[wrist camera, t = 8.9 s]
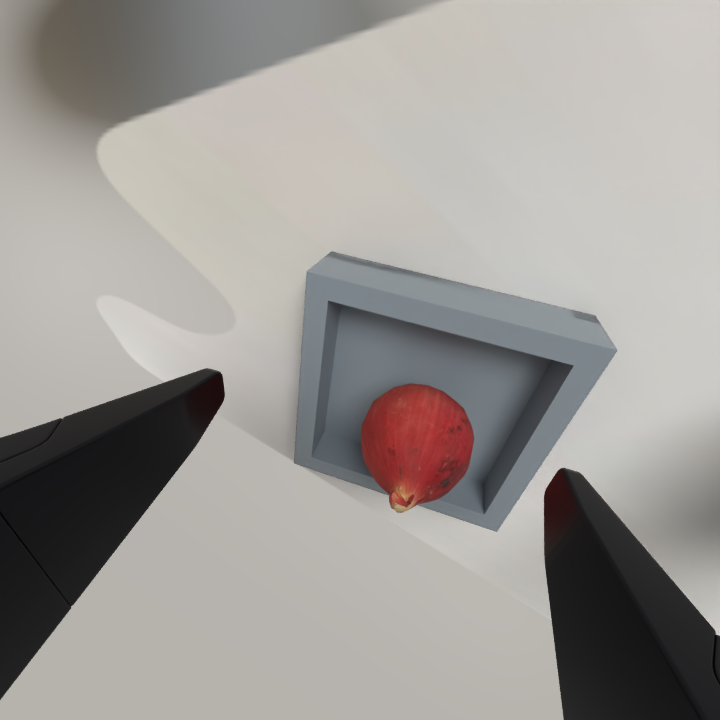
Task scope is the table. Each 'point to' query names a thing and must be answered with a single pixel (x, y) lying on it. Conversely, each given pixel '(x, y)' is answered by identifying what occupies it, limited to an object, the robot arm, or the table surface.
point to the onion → (416, 444)
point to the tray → (441, 373)
